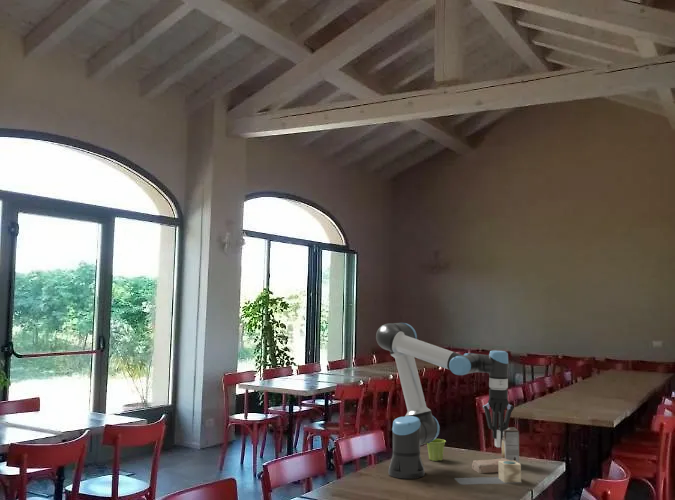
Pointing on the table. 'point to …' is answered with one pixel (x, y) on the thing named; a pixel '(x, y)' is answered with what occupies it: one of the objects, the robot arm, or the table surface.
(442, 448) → the plant pot
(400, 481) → the table surface
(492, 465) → the brick
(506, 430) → the coffee box
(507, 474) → the beech block
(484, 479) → the rubber mat
